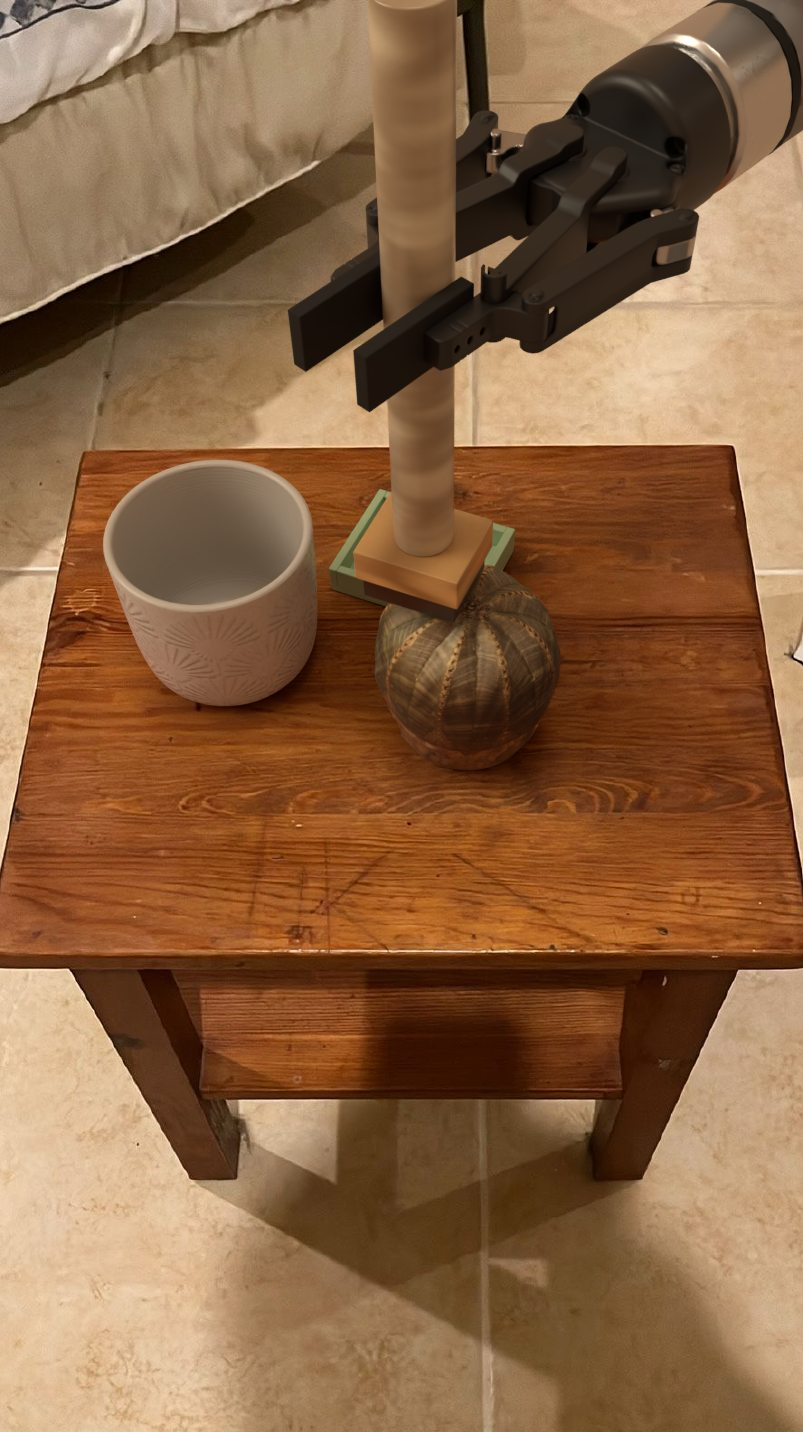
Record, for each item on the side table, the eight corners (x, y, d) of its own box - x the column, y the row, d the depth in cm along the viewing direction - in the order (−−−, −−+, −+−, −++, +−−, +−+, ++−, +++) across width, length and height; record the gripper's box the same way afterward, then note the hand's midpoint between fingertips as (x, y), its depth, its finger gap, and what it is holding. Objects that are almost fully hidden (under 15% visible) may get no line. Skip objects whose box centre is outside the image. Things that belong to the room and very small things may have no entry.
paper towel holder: (491, 566, 72) (516, -34, 46) (457, 629, 69) (462, 35, 44) (393, 536, 73) (364, -62, 47) (356, 597, 71) (304, 3, 45)
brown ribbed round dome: (360, 784, 79) (347, 657, 69) (402, 650, 85) (396, 514, 74) (533, 816, 78) (547, 691, 67) (565, 677, 83) (582, 542, 73)
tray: (514, 550, 89) (515, 528, 87) (468, 633, 85) (468, 613, 84) (380, 509, 91) (379, 488, 90) (330, 589, 88) (328, 568, 86)
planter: (336, 586, 88) (323, 461, 78) (315, 732, 81) (298, 615, 72) (158, 579, 89) (124, 454, 79) (123, 722, 82) (82, 605, 73)
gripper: (795, 265, 63) (469, 521, 54) (541, 140, 69) (214, 353, 61) (835, 108, 56) (472, 371, 48) (551, -14, 62) (187, 201, 54)
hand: (329, 360), depth 54 cm, fingers closed on paper towel holder, 3 cm apart
